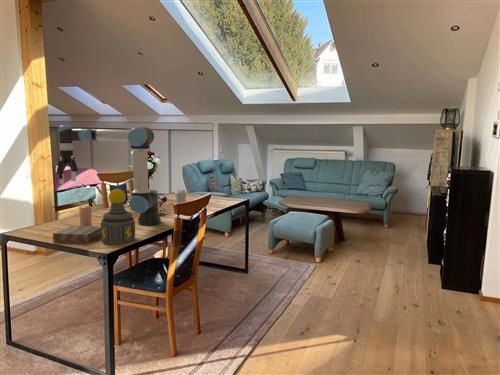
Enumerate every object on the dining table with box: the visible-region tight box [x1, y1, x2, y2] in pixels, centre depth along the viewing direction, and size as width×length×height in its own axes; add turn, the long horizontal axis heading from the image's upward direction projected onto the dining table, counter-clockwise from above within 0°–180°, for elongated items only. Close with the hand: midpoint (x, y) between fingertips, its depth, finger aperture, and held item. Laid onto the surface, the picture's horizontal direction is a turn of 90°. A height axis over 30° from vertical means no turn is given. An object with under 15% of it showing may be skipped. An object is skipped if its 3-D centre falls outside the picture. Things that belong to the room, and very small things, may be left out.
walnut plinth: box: [52, 224, 101, 244], centre depth 219 cm, size 20×18×5 cm
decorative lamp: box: [100, 188, 136, 245], centre depth 215 cm, size 19×19×30 cm
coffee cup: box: [174, 189, 187, 203], centre depth 306 cm, size 10×10×15 cm
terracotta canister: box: [78, 205, 93, 226], centre depth 240 cm, size 7×7×14 cm
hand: (68, 182), depth 246 cm, fingers open, 13 cm apart
